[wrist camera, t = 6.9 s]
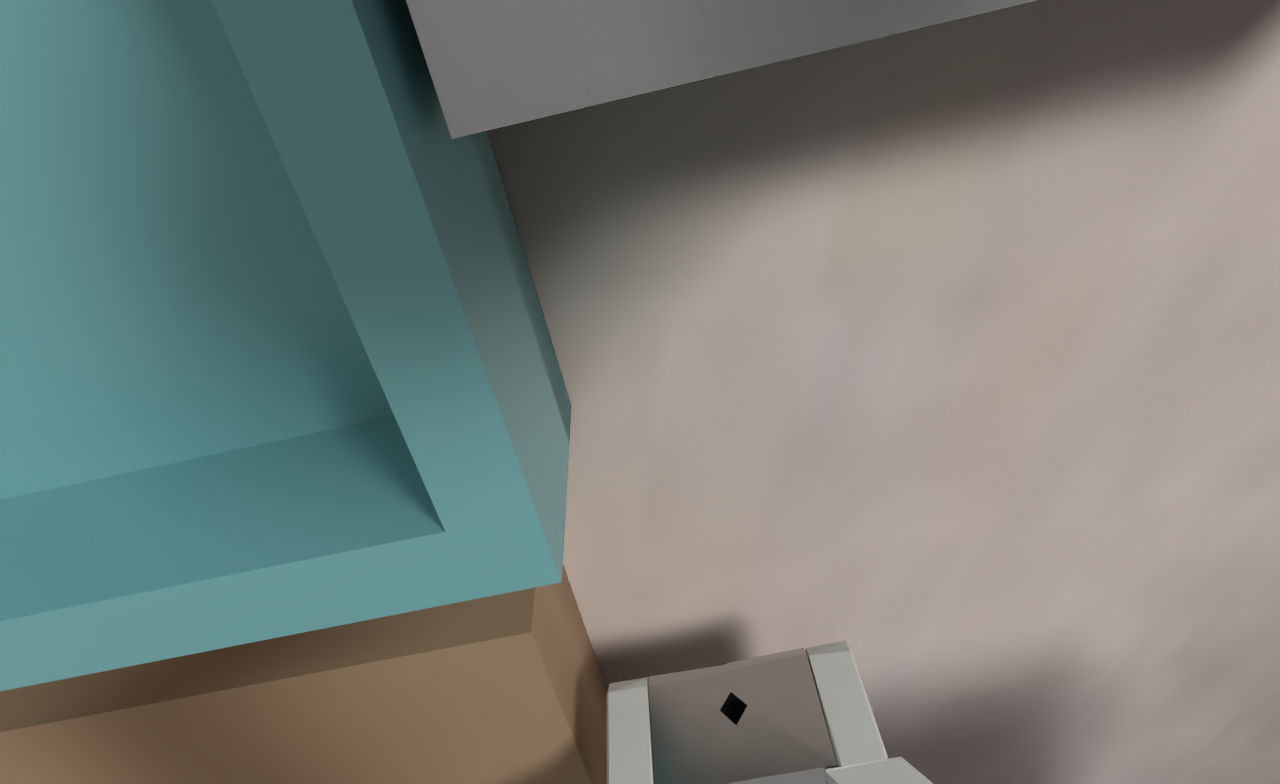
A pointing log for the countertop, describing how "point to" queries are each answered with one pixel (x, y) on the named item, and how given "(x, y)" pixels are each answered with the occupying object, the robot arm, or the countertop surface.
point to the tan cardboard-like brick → (336, 706)
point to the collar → (632, 46)
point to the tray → (254, 336)
